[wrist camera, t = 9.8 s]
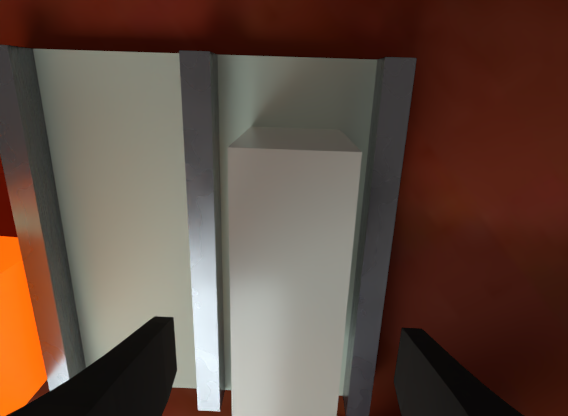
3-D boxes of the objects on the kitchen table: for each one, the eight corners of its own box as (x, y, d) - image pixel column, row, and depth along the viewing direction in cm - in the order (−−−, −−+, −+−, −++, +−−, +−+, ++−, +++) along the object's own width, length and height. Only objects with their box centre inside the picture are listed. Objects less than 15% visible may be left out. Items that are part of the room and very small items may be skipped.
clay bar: (322, 350, 20) (332, 453, 15) (250, 347, 20) (232, 447, 15) (339, 129, 17) (362, 152, 11) (251, 126, 17) (227, 147, 11)
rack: (360, 383, 22) (368, 418, 20) (77, 369, 23) (52, 402, 20) (399, 62, 17) (416, 58, 14) (21, 50, 17) (-23, 44, 15)
